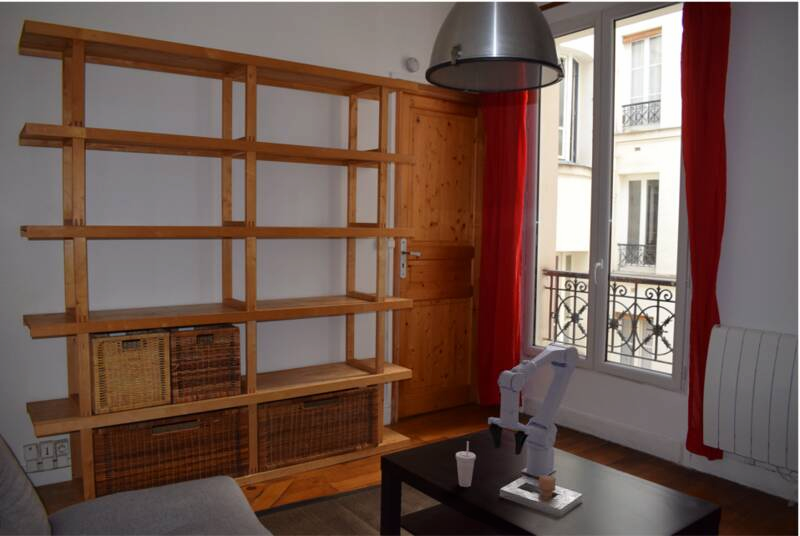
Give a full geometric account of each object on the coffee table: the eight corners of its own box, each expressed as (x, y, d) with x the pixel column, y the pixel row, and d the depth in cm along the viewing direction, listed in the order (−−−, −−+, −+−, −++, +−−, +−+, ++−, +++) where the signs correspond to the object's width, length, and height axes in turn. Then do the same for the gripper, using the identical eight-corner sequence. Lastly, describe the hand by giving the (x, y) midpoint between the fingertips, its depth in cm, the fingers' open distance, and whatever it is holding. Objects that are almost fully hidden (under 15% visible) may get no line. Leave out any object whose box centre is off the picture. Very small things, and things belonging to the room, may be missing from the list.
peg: (542, 496, 195) (543, 474, 194) (557, 500, 192) (558, 478, 191) (535, 501, 191) (536, 478, 191) (550, 506, 188) (551, 483, 188)
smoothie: (474, 489, 199) (475, 445, 198) (453, 487, 200) (454, 443, 199) (475, 481, 205) (477, 438, 204) (455, 479, 206) (457, 437, 205)
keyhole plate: (523, 482, 205) (523, 475, 204) (582, 501, 192) (582, 494, 191) (499, 496, 194) (500, 488, 194) (560, 517, 181) (560, 509, 181)
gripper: (483, 406, 205) (481, 448, 206) (523, 416, 195) (521, 459, 196) (495, 402, 210) (493, 443, 211) (534, 412, 201) (532, 454, 202)
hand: (507, 450), depth 204 cm, fingers open, 7 cm apart
